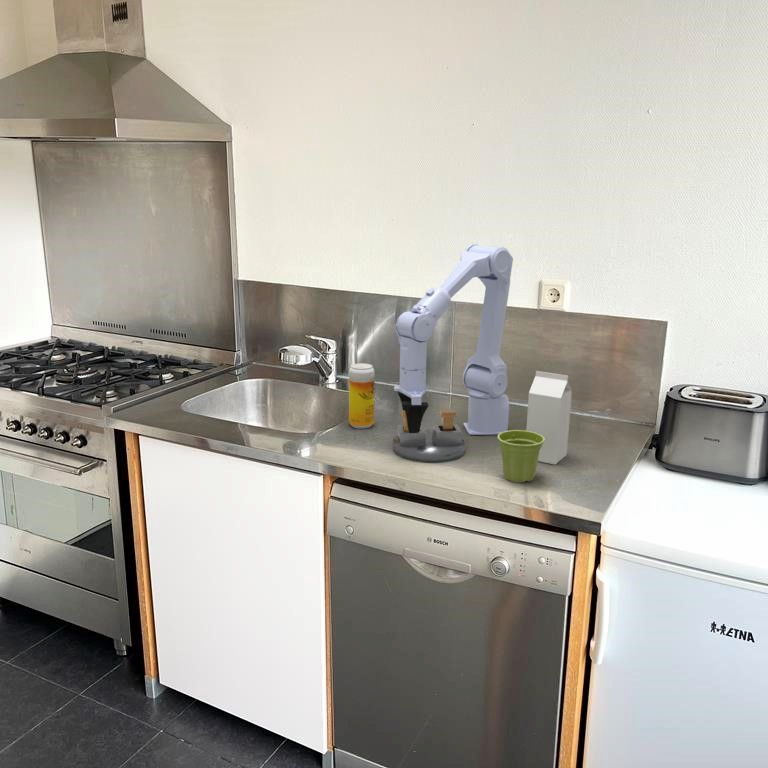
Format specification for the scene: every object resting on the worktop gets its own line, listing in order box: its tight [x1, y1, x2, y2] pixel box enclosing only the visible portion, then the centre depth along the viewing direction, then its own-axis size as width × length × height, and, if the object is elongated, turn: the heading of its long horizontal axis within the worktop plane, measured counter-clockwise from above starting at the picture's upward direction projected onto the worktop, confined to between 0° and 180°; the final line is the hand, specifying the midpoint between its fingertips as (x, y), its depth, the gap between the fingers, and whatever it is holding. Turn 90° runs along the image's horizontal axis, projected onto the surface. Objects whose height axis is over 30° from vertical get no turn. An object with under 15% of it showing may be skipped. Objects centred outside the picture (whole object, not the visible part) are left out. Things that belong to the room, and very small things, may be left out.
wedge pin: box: [401, 409, 409, 432], centre depth 169 cm, size 3×2×7 cm
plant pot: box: [497, 429, 545, 483], centre depth 155 cm, size 9×9×9 cm
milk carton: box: [525, 370, 573, 466], centre depth 165 cm, size 7×7×19 cm
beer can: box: [348, 362, 375, 430], centre depth 185 cm, size 6×6×15 cm
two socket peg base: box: [392, 409, 466, 464], centre depth 170 cm, size 16×16×9 cm
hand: (411, 427), depth 169 cm, fingers open, 7 cm apart
